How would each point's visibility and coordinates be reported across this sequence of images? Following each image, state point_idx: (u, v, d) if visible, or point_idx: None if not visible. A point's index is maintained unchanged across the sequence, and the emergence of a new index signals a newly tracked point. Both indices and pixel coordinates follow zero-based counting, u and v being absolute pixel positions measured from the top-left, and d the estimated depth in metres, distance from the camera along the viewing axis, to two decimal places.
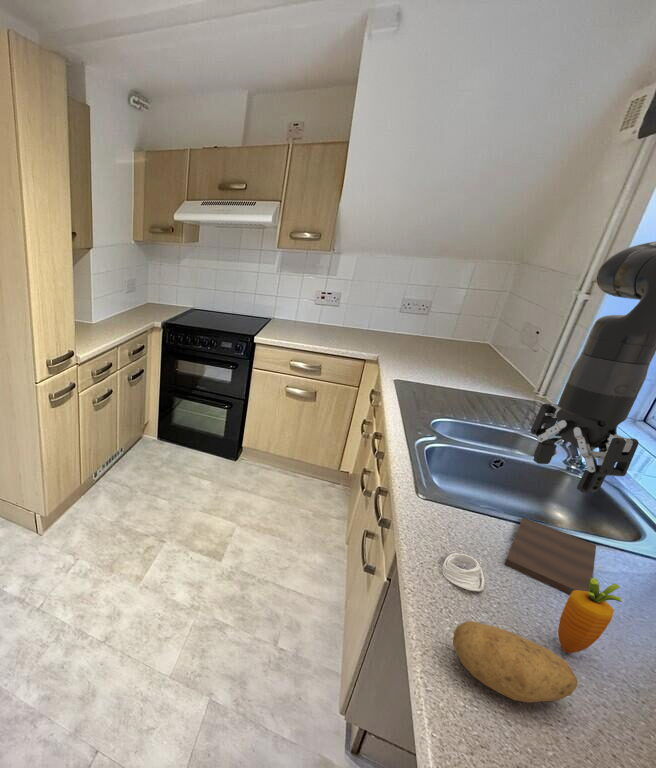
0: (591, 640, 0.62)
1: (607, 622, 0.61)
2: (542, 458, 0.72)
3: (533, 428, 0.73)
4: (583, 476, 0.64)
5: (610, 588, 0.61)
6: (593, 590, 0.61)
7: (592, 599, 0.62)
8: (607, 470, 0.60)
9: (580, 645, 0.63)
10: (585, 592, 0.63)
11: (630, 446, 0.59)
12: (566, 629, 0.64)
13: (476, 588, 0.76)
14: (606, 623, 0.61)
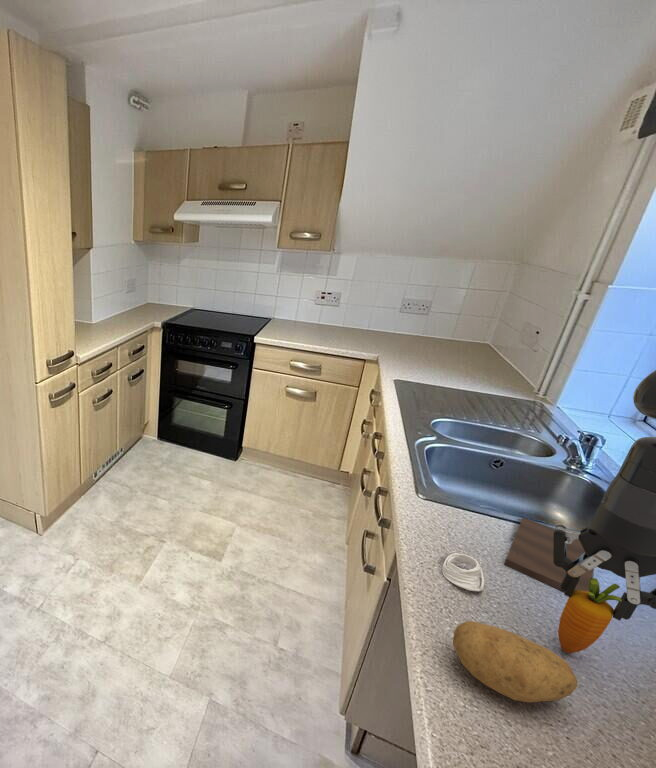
0: (591, 640, 0.62)
1: (607, 622, 0.61)
2: (573, 590, 0.64)
3: (557, 560, 0.64)
4: (622, 606, 0.59)
5: (610, 588, 0.61)
6: (594, 590, 0.61)
7: (592, 599, 0.62)
8: None
9: (580, 645, 0.63)
10: (585, 592, 0.63)
11: None
12: (566, 629, 0.64)
13: (476, 588, 0.76)
14: (606, 623, 0.61)
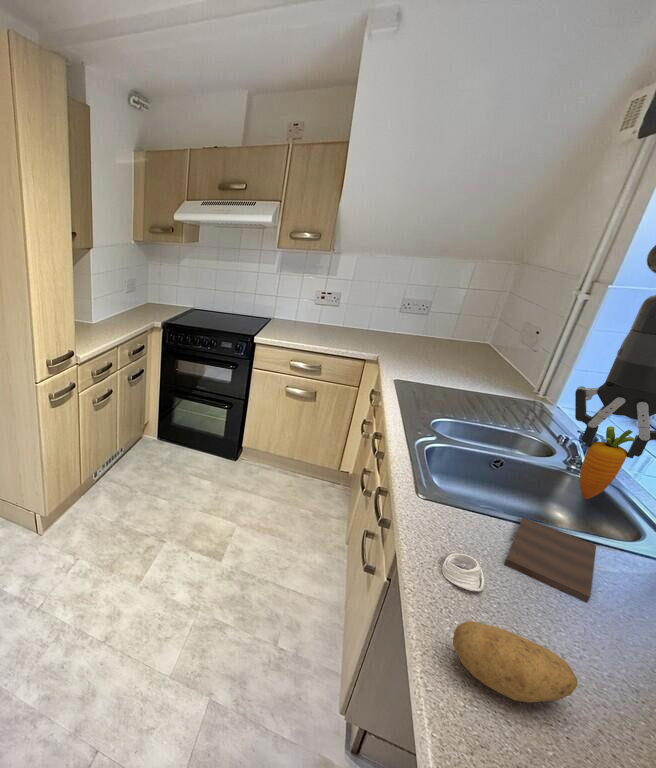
0: (608, 480, 0.74)
1: (622, 461, 0.72)
2: None
3: (578, 415, 0.75)
4: (634, 445, 0.70)
5: (624, 433, 0.72)
6: (610, 436, 0.73)
7: (609, 445, 0.73)
8: None
9: (599, 487, 0.75)
10: (602, 442, 0.75)
11: None
12: (586, 475, 0.75)
13: (476, 588, 0.76)
14: (621, 462, 0.72)
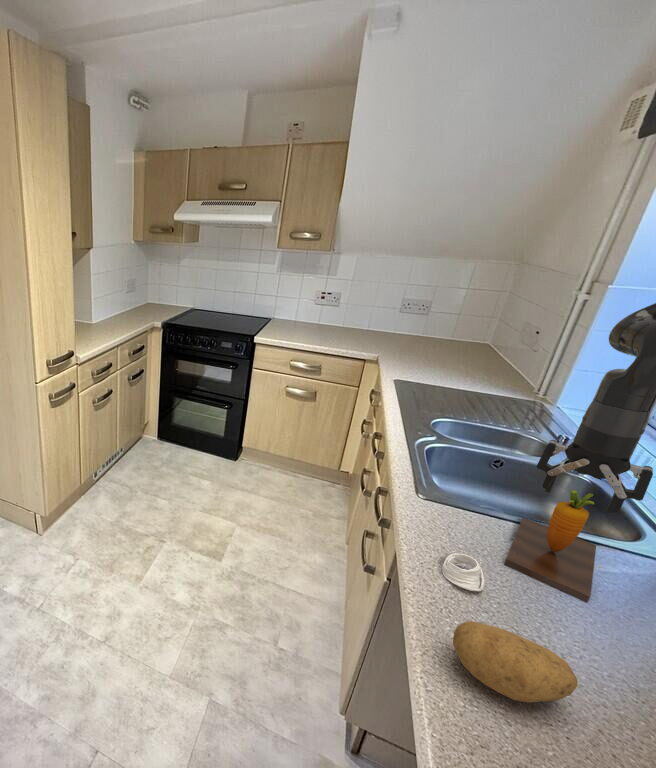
0: (572, 538, 0.81)
1: (584, 522, 0.80)
2: (551, 487, 0.83)
3: (540, 464, 0.83)
4: (613, 502, 0.76)
5: (586, 496, 0.80)
6: (573, 498, 0.80)
7: (572, 506, 0.81)
8: (641, 496, 0.73)
9: (564, 543, 0.82)
10: (567, 502, 0.82)
11: None
12: (553, 532, 0.83)
13: (476, 588, 0.76)
14: (583, 522, 0.80)
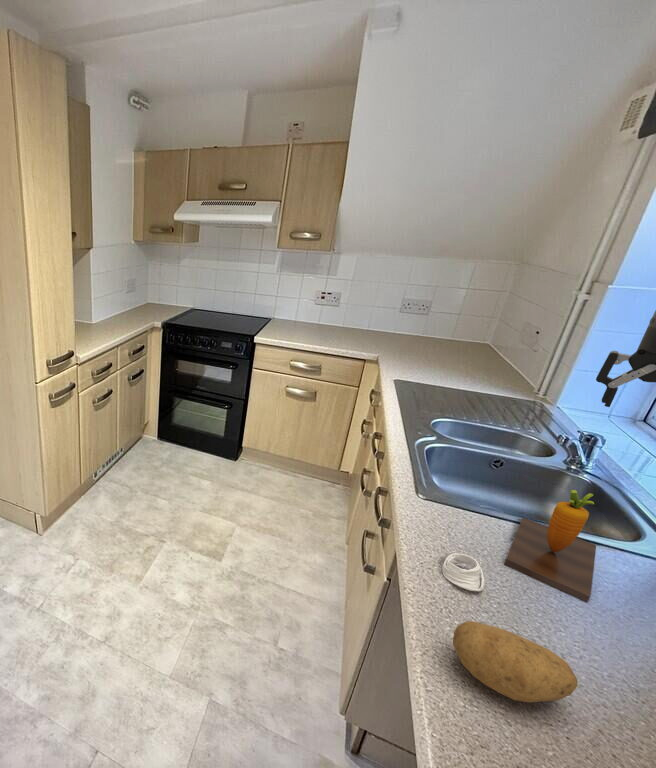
0: (572, 538, 0.81)
1: (584, 522, 0.80)
2: (611, 401, 0.79)
3: (600, 377, 0.79)
4: None
5: (586, 496, 0.80)
6: (573, 498, 0.80)
7: (572, 506, 0.81)
8: None
9: (564, 543, 0.82)
10: (567, 502, 0.82)
11: None
12: (553, 532, 0.83)
13: (476, 588, 0.76)
14: (583, 522, 0.80)
